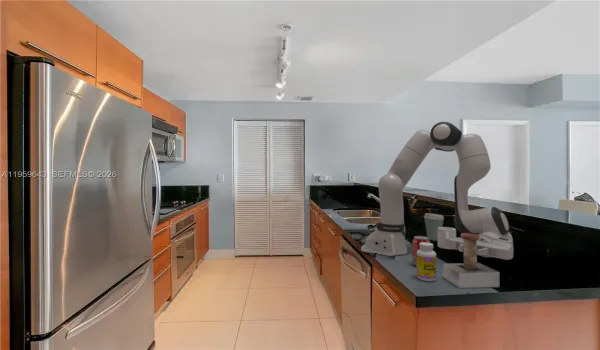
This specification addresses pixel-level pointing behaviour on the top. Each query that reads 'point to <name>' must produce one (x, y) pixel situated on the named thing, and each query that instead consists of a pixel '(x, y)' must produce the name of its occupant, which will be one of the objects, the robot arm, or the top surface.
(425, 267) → the supplement bottle
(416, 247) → the soda can
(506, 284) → the top surface
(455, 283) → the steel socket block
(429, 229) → the disposable coffee cup
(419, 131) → the robot arm
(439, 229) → the mug
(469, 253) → the wooden pin
